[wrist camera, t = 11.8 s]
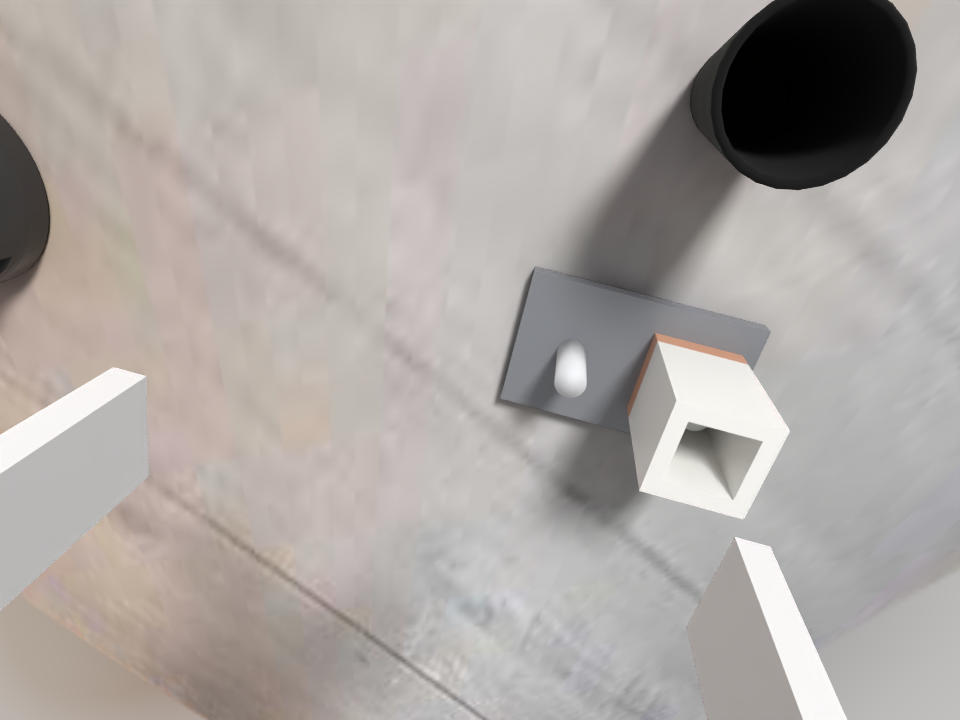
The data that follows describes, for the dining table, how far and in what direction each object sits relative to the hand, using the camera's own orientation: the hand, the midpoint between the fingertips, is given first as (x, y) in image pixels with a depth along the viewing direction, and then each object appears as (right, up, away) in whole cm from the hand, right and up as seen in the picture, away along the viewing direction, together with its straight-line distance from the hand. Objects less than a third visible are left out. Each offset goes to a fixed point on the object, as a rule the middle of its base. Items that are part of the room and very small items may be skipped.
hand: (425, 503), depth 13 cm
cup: (+17, +19, +22) cm, 33 cm away
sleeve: (+15, +2, +28) cm, 32 cm away
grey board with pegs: (+12, +3, +29) cm, 32 cm away
